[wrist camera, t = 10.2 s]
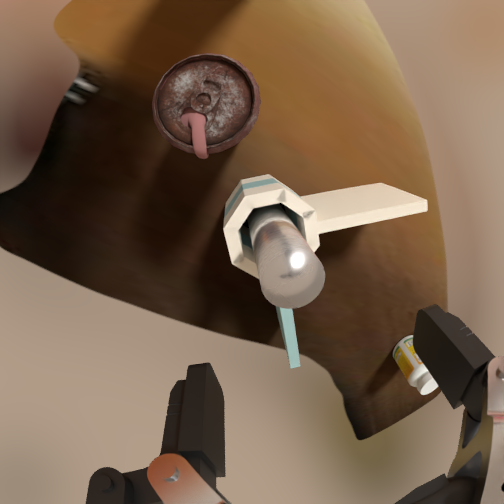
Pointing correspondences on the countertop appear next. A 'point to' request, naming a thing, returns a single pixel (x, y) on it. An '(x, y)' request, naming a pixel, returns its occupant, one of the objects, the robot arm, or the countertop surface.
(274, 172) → the countertop surface
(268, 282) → the hinge pin
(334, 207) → the white hinge leaf
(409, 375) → the supplement bottle
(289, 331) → the leaf
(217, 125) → the can
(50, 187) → the countertop surface
